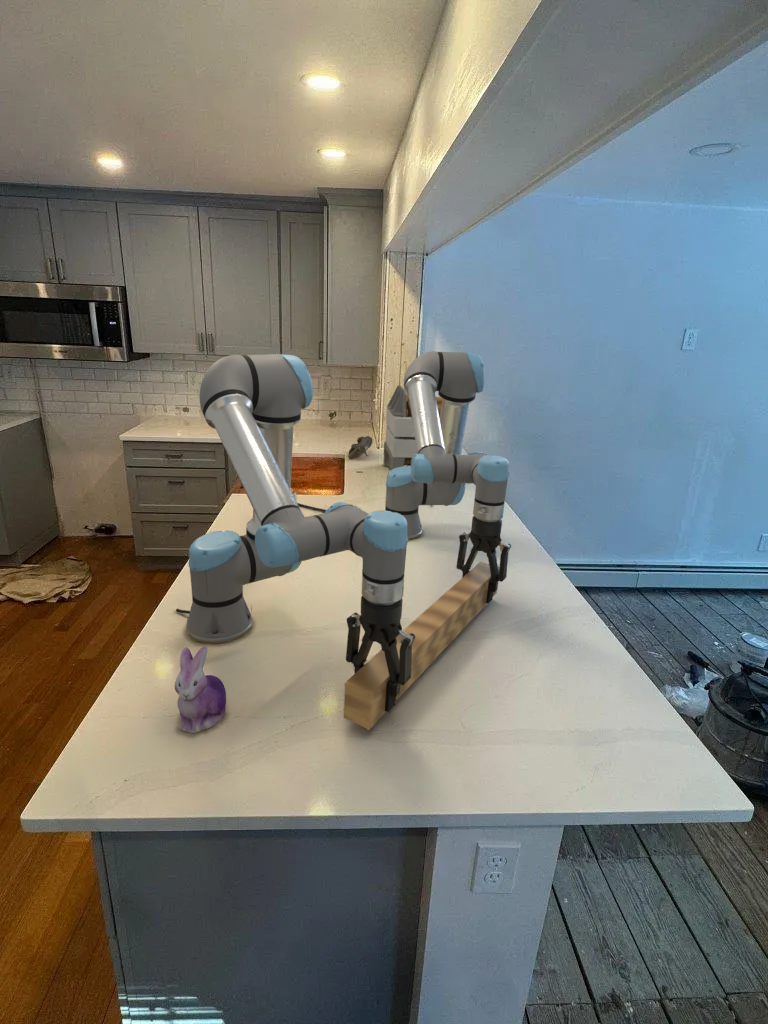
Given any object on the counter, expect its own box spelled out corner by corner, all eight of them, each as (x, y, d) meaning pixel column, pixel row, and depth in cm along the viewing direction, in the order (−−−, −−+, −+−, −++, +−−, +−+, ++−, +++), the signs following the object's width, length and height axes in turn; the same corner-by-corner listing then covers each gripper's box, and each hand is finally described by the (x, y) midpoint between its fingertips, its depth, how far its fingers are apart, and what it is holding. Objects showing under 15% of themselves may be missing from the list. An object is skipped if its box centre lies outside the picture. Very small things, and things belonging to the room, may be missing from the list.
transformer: (382, 463, 289) (386, 382, 275) (445, 464, 293) (451, 384, 279) (390, 482, 257) (394, 392, 243) (460, 483, 261) (468, 394, 247)
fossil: (348, 442, 312) (369, 426, 307) (359, 455, 315) (380, 440, 310) (341, 456, 292) (364, 439, 287) (353, 470, 295) (376, 454, 290)
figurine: (181, 742, 101) (174, 672, 96) (173, 708, 110) (166, 641, 105) (234, 727, 105) (230, 658, 100) (222, 695, 114) (218, 630, 109)
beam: (477, 587, 159) (480, 561, 156) (496, 593, 156) (500, 566, 153) (343, 717, 106) (344, 682, 103) (369, 730, 103) (371, 694, 101)
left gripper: (327, 589, 103) (325, 693, 112) (418, 621, 95) (408, 732, 103) (350, 574, 109) (347, 674, 118) (438, 603, 101) (427, 709, 109)
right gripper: (447, 513, 145) (440, 593, 153) (518, 530, 136) (506, 614, 144) (459, 505, 151) (451, 582, 159) (528, 521, 142) (516, 602, 150)
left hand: (375, 701), depth 110 cm, fingers closed on beam, 6 cm apart
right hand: (477, 597), depth 152 cm, fingers closed on beam, 6 cm apart
